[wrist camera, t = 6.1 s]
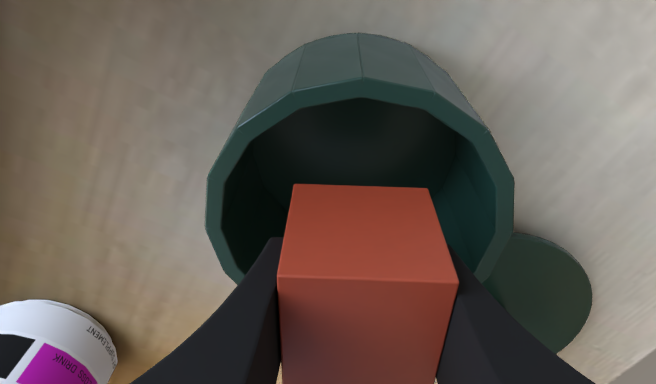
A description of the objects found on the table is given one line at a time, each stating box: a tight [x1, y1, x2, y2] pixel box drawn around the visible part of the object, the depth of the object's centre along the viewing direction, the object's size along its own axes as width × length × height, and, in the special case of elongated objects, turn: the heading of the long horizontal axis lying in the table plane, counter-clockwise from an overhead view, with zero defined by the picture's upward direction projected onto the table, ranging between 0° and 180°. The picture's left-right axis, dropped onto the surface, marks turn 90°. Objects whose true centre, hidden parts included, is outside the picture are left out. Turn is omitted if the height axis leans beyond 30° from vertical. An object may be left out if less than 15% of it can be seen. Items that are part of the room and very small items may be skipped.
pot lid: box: [481, 232, 592, 354], centre depth 23 cm, size 11×11×5 cm
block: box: [277, 184, 459, 384], centre depth 13 cm, size 4×4×4 cm
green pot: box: [205, 33, 515, 285], centre depth 17 cm, size 10×10×6 cm
